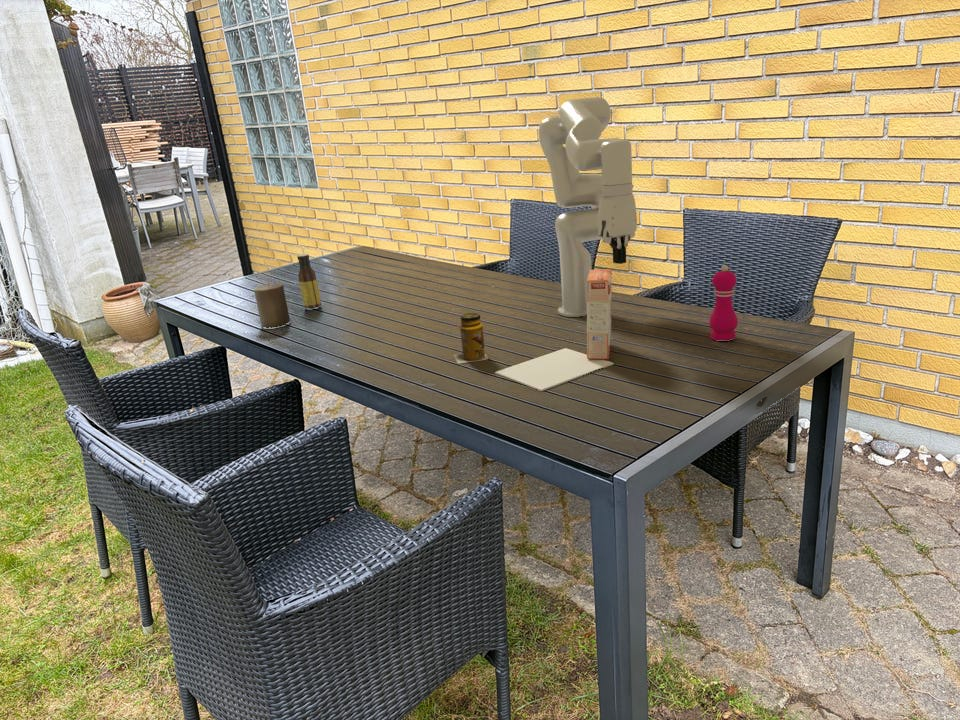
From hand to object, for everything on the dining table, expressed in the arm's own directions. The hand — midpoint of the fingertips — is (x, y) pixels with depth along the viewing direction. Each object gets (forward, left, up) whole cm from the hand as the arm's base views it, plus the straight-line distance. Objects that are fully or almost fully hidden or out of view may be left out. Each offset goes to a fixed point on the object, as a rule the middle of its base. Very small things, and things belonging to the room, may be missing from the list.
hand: (619, 262), depth 190 cm
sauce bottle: (+40, -114, -23) cm, 123 cm away
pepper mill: (-21, +17, -23) cm, 35 cm away
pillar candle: (+58, -104, -23) cm, 122 cm away
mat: (+24, 0, -23) cm, 33 cm away
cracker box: (+8, 0, -23) cm, 24 cm away
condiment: (+33, -24, -23) cm, 47 cm away
